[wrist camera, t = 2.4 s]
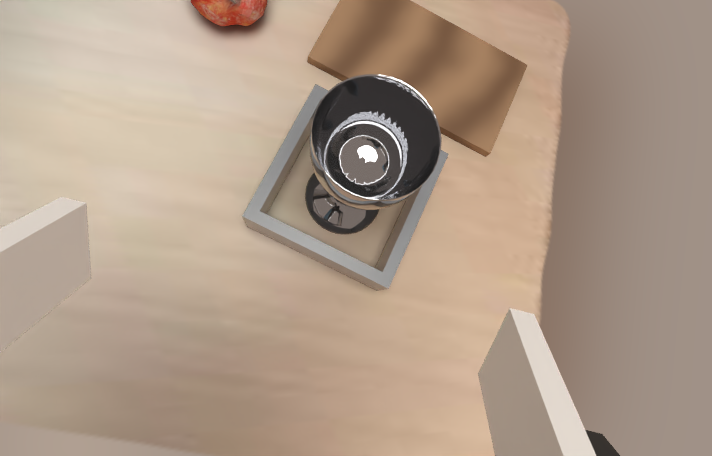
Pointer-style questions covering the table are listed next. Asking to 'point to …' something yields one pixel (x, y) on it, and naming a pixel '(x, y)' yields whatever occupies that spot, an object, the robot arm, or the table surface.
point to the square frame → (314, 248)
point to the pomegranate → (231, 11)
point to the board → (424, 64)
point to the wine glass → (368, 150)
